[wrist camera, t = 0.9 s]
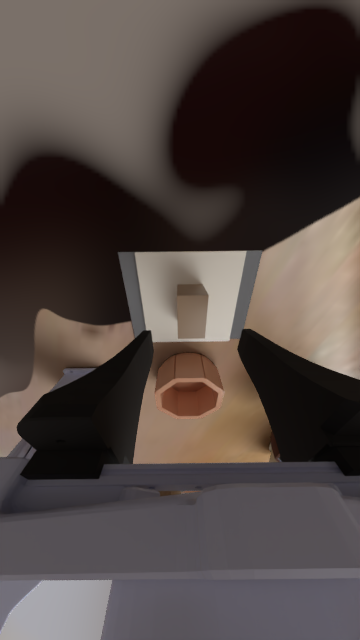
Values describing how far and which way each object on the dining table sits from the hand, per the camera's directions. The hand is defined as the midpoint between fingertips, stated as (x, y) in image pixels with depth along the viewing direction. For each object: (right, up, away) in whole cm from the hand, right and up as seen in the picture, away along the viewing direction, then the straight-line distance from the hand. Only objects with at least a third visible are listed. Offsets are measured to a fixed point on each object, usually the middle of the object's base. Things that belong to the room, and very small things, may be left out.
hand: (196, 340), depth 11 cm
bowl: (0, -8, +14) cm, 16 cm away
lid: (0, +4, +7) cm, 8 cm away
